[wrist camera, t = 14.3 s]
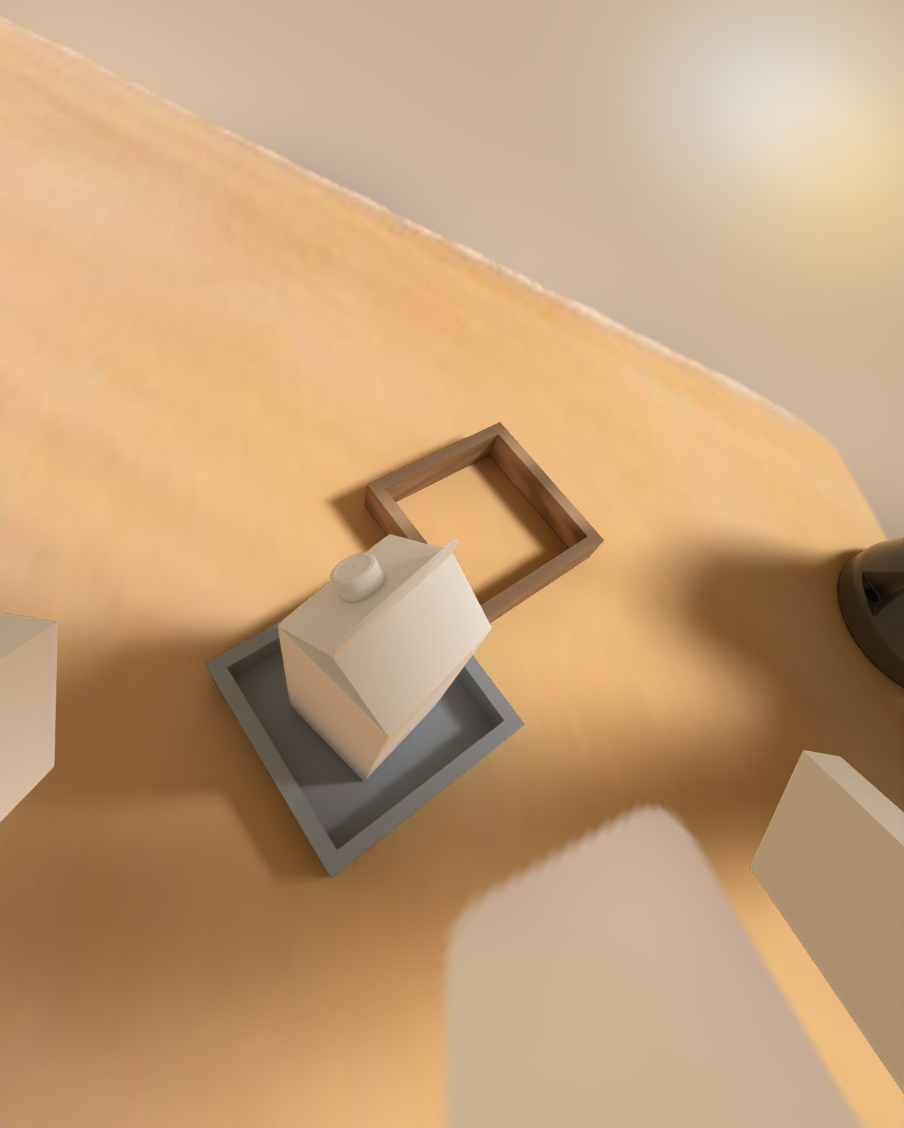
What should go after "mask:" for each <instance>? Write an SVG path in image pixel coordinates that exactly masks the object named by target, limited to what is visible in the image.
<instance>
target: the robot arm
mask: <svg viewBox="0 0 904 1128" xmlns="http://www.w3.org/2000/svg"><path fill="white" fill-rule="evenodd" d="M838 593H839V601H840V606H841V610H842V613H843V616H844V618H845V621H846V623H847V625H848V627H849V629H850V631H851V633H852V635H853V636H854V638H855V640H856V641H857V643H858V644H859V646H860V647H861V648H862V650H863V651H864V652H865V653H866V655H867V656H868V657H869V658H870V659H871V660H872V661H873V662H874V664H875V665H876V666H878V667H879V668H880V669H881V670H882V671H883V672H884V673H885V674H886V675H888V676H889V677H890V678H891V679H893V680H894V681H896V682H897V683H899V684H900V685H902V686H903V687H904V537H903V538H898V539H893V540H888V541H884V542H881V543H878V544H875V545H873V546H871V547H869V548H867V549H866V550H864V551H862V552H860V553H859V554H857V555H855V556H854V557H852V558H851V559H850V560H849V561H848V562H847V563H846V564H845V566H844V567H843V569H842V572H841V574H840V578H839V585H838ZM57 644H58V622H55V621H49V620H44V619H38V618H32V617H26V616H20V615H14V614H9V613H7V614H5V615H3V616H1V617H0V822H1V821H2V820H3V819H4V818H5V817H6V816H7V815H8V814H9V813H10V812H11V811H12V810H13V809H14V808H15V806H16V805H17V804H18V803H19V802H20V801H21V800H22V799H23V798H24V797H25V796H26V795H27V794H28V793H29V792H30V791H31V790H32V789H33V788H34V787H35V786H36V785H37V784H38V783H39V782H40V781H41V780H42V779H43V778H44V777H45V775H46V774H47V773H48V772H49V771H50V770H51V769H52V768H53V767H54V760H55V721H56V683H57ZM750 869H751V870H752V872H753V873H754V875H755V876H756V878H757V879H758V881H759V882H760V884H761V885H762V887H763V888H764V889H765V891H766V892H767V894H768V895H769V897H770V898H771V900H772V901H773V903H774V904H775V906H776V907H777V909H778V910H779V911H780V913H781V914H782V916H783V917H784V919H785V920H786V922H787V923H788V925H789V926H790V928H791V929H792V931H793V932H794V934H795V935H796V936H797V938H798V939H799V941H800V942H801V944H802V945H803V947H804V948H805V950H806V951H807V953H808V954H809V956H810V957H811V958H812V960H813V961H814V963H815V964H816V966H817V967H818V969H819V970H820V972H821V973H822V975H823V976H824V978H825V979H826V981H827V982H828V983H829V985H830V986H831V988H832V989H833V991H834V992H835V994H836V995H837V997H838V998H839V1000H840V1001H841V1003H842V1004H843V1006H844V1007H845V1008H846V1010H847V1011H848V1013H849V1014H850V1016H851V1017H852V1019H853V1020H854V1022H855V1023H856V1025H857V1026H858V1028H859V1029H860V1030H861V1032H862V1033H863V1035H864V1036H865V1038H866V1039H867V1041H868V1042H869V1044H870V1045H871V1047H872V1048H873V1050H874V1051H875V1053H876V1054H877V1055H878V1057H879V1058H880V1060H881V1061H882V1063H883V1064H884V1066H885V1067H886V1069H887V1070H888V1072H889V1073H890V1075H891V1076H892V1077H893V1079H894V1080H895V1082H896V1083H897V1085H898V1086H899V1088H900V1089H901V1091H902V1092H903V1094H904V812H903V811H901V810H900V809H899V808H898V807H897V806H896V805H895V804H894V803H892V802H891V801H890V800H889V799H888V798H887V797H886V796H885V795H883V794H882V793H881V792H880V791H879V790H878V789H877V788H875V787H874V786H873V785H872V784H871V783H870V782H869V781H868V780H866V779H865V778H864V777H863V776H862V775H861V774H860V773H859V772H857V771H856V770H855V769H854V768H853V767H852V766H851V765H849V764H848V763H847V762H846V761H845V760H844V759H843V758H842V757H840V756H835V755H829V754H823V753H818V752H812V751H806V750H803V751H802V754H801V756H800V758H799V760H798V762H797V765H796V767H795V769H794V771H793V773H792V775H791V778H790V780H789V782H788V784H787V786H786V789H785V791H784V793H783V795H782V797H781V799H780V802H779V804H778V806H777V808H776V810H775V812H774V815H773V817H772V819H771V821H770V823H769V826H768V828H767V830H766V832H765V834H764V836H763V839H762V841H761V843H760V845H759V847H758V850H757V852H756V854H755V856H754V858H753V860H752V863H751V865H750Z"/></svg>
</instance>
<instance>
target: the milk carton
mask: <svg viewBox="0 0 904 1128" xmlns="http://www.w3.org/2000/svg"><path fill="white" fill-rule="evenodd" d="M457 542H458V541H457V540H456V539H453V540H452V541H451V542H449V543H448V544H447V545H446V546H445V547H444V548H440V547H436V546H433V545H429V544H425V543H421V542H418V541H414V540H410V539H406V538H403V537H399V536H395V535H391V534H390V535H388V536H386V537H385V538H383V539H382V540H381V541H379V542H378V543H377V544H376V545H374V546H373V547H372V548H370V549H369V550H368V551H367V552H366V553H358V554H354V555H352V556H350V557H347V558H346V559H344V560H343V561H341V562H340V563H339V564H338V565H336V567H335V568H334V569H333V570H332V572H331V574H330V579H331V581H330V582H329V583H327V584H326V585H325V586H324V587H323V588H321V589H320V590H319V591H318V592H316V593H315V594H314V595H313V596H311V597H310V598H309V599H308V600H307V601H305V602H304V603H303V604H302V605H300V606H299V607H298V608H297V609H296V610H294V611H293V612H292V613H291V614H290V615H288V616H287V617H286V618H285V619H284V620H283V621H282V622H280V623H279V625H278V632H279V638H280V645H281V651H282V657H283V664H284V670H285V676H286V682H287V689H288V695H289V701H290V706H291V707H292V708H293V709H294V710H295V711H296V712H297V713H298V714H299V715H300V716H301V717H302V718H303V720H304V721H305V722H306V723H307V724H308V725H309V726H310V727H311V728H312V729H313V730H314V731H315V732H316V733H317V734H318V735H319V736H320V737H321V738H322V739H323V740H324V741H325V742H326V743H327V744H328V745H329V746H330V747H331V748H332V749H333V750H334V751H335V752H336V753H337V755H338V756H339V757H340V758H341V759H342V760H343V761H344V762H345V763H346V764H347V765H348V766H349V767H350V768H351V769H352V770H353V771H354V772H355V773H356V774H357V775H358V776H359V777H360V778H361V779H362V780H363V781H365V780H366V779H367V778H368V777H369V776H370V775H371V774H372V773H373V772H374V771H375V770H376V769H377V768H378V767H379V766H380V765H381V764H382V763H383V761H384V760H385V759H386V758H387V757H388V756H389V755H390V754H391V753H392V752H393V751H394V750H395V749H396V748H397V746H398V745H399V744H400V743H401V742H402V741H403V740H404V739H405V738H406V737H407V736H408V735H409V734H410V732H411V731H412V730H413V729H414V728H415V727H416V726H417V725H418V724H419V723H420V722H421V721H422V720H423V719H424V717H425V716H426V715H427V714H428V713H429V712H430V711H431V710H432V709H433V708H434V706H435V705H436V704H437V702H438V701H439V700H440V698H441V697H442V696H443V694H444V693H445V692H446V690H447V689H448V687H449V686H450V685H451V683H452V682H453V681H454V679H455V678H456V677H457V675H458V674H459V673H460V671H461V670H462V668H463V667H464V666H465V664H466V663H467V662H468V660H469V659H470V658H471V656H472V655H473V654H474V652H475V651H476V649H477V648H478V647H479V645H480V644H481V643H482V641H483V640H484V639H485V637H486V636H487V635H488V633H489V632H490V630H491V629H492V627H491V625H490V623H489V621H488V619H487V617H486V616H485V614H484V612H483V610H482V608H481V606H480V604H479V602H478V600H477V598H476V596H475V594H474V592H473V591H472V589H471V587H470V585H469V583H468V581H467V579H466V577H465V575H464V573H463V571H462V569H461V567H460V566H459V564H458V562H457V560H456V558H455V556H454V554H453V551H454V549H455V547H456V544H457Z"/></svg>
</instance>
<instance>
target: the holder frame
mask: <svg viewBox="0 0 904 1128" xmlns="http://www.w3.org/2000/svg"><path fill="white" fill-rule="evenodd" d="M489 455H490V456H491V458H492V459H493V460H494V461H495V462H496V463H497V465H498V466H499V467H500V468H501V469H502V470H503V472H504V473H505V474H506V475H507V476H508V477H509V479H510V480H511V481H512V482H513V483H514V484H515V486H516V487H517V488H518V489H519V490H520V491H521V493H522V494H523V495H524V496H525V497H526V499H527V500H528V501H529V502H530V503H531V504H532V506H533V507H534V508H535V509H536V510H537V511H538V513H539V514H540V515H541V516H542V517H543V518H544V520H545V521H546V522H547V523H548V524H549V525H550V527H551V528H552V529H553V530H554V531H555V532H556V534H557V535H558V536H559V537H560V538H561V539H562V541H563V542H564V543H565V544H566V545H567V547H568V548H569V549H568V550H566V551H564V552H563V553H561V554H560V555H558V556H557V557H555V558H554V559H552V560H550V561H549V562H547V563H546V564H544V565H543V566H541V567H540V568H538V569H536V570H535V571H533V572H532V573H530V574H529V575H527V576H526V577H524V578H522V579H521V580H519V581H518V582H516V583H515V584H513V585H512V586H510V587H508V588H507V589H505V590H504V591H502V592H501V593H499V594H498V595H496V596H494V597H493V598H491V599H490V600H488V601H487V602H485V603H484V604H482V605H480V606H481V608H482V610H483V612H484V614H485V616H486V617H487V619H488V621H489V623H491V622H493V621H494V620H496V619H497V618H499V617H500V616H502V615H503V614H505V613H506V612H508V611H509V610H511V609H512V608H514V607H515V606H517V605H518V604H520V603H521V602H523V601H524V600H526V599H527V598H529V597H530V596H532V595H533V594H535V593H536V592H538V591H539V590H541V589H542V588H544V587H545V586H547V585H548V584H550V583H551V582H553V581H554V580H556V579H557V578H559V577H560V576H562V575H563V574H565V573H566V572H568V571H569V570H571V569H572V568H574V567H575V566H577V565H578V564H580V563H581V562H583V561H584V560H586V559H587V558H589V557H590V555H591V554H592V553H593V552H594V551H595V550H596V549H597V548H598V546H599V545H600V544H601V543H602V542H603V541H604V540H603V539H602V537H601V536H600V535H599V534H598V533H597V532H596V531H595V529H594V528H593V527H592V526H591V525H590V524H589V523H588V521H587V520H586V519H585V518H584V517H583V516H582V515H581V514H580V512H579V511H578V510H577V509H576V508H575V507H574V506H573V504H572V503H571V502H570V501H569V500H568V499H567V498H566V496H565V495H564V494H563V493H562V492H561V491H560V490H559V489H558V487H557V486H556V485H555V484H554V483H553V482H552V481H551V479H550V478H549V477H548V476H547V475H546V474H545V473H544V471H543V470H542V469H541V468H540V467H539V466H538V465H537V464H536V462H535V461H534V460H533V459H532V458H531V457H530V456H529V454H528V453H527V452H526V451H525V450H524V449H523V448H522V446H521V445H520V444H519V443H518V442H517V441H516V440H515V439H514V437H513V436H512V435H511V434H510V433H509V432H508V431H507V429H506V428H505V427H504V426H503V425H502V424H501V423H500V422H499V423H497V424H495V425H493V426H491V427H488V428H486V429H484V430H482V431H480V432H478V433H476V434H474V435H472V436H469V437H467V438H465V439H463V440H461V441H459V442H457V443H455V444H452V445H450V446H448V447H446V448H444V449H442V450H440V451H438V452H435V453H433V454H431V455H429V456H427V457H425V458H423V459H421V460H419V461H416V462H414V463H412V464H410V465H408V466H406V467H404V468H402V469H399V470H397V471H395V472H393V473H391V474H389V475H387V476H385V477H382V478H380V479H378V480H376V481H374V482H372V483H370V484H368V485H367V492H366V499H365V507H366V508H367V509H368V511H369V512H370V513H371V515H372V516H373V517H374V519H375V520H376V521H377V523H378V524H379V525H380V527H381V528H382V529H383V531H384V532H385V533H386V535H387V536H388V535H390V534H391V535H395V536H399V537H403V538H406V539H410V540H414V541H418V542H421V543H425V544H427V542H426V541H425V540H424V539H423V537H422V536H421V535H420V533H419V532H418V531H417V529H416V528H415V527H414V526H413V524H412V523H411V522H410V520H409V519H408V518H407V516H406V515H405V514H404V513H403V511H402V510H401V509H400V507H399V506H398V505H397V504H396V502H397V501H399V500H401V499H403V498H405V497H407V496H409V495H411V494H413V493H415V492H417V491H419V490H421V489H423V488H425V487H427V486H429V485H431V484H433V483H435V482H437V481H439V480H441V479H443V478H445V477H447V476H449V475H451V474H453V473H455V472H457V471H459V470H461V469H463V468H465V467H467V466H469V465H471V464H473V463H475V462H477V461H479V460H481V459H483V458H485V457H487V456H489Z"/></svg>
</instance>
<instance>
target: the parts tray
mask: <svg viewBox="0 0 904 1128" xmlns="http://www.w3.org/2000/svg"><path fill="white" fill-rule="evenodd" d="M283 620H284V619H283ZM283 620H281V621H280V622H282V621H283ZM280 622H278V623H276V624H274V625H272V626H270V627H269V628H267V629H265V630H263V631H261V632H260V633H258V634H256V635H254V636H252V637H250V638H249V639H247V640H245V641H243V642H241V643H240V644H238V645H236V646H234V647H232V648H231V649H229V650H227V651H225V652H223V653H221V654H220V655H218V656H216V657H214V658H212V659H211V660H209V661H207V662H205V663H204V664H205V665H206V667H207V669H208V671H209V673H210V674H211V676H212V678H213V680H214V681H215V683H216V685H217V686H218V688H219V690H220V692H221V693H222V695H223V697H224V698H225V700H226V702H227V703H228V705H229V707H230V709H231V710H232V712H233V714H234V715H235V717H236V719H237V720H238V722H239V724H240V725H241V727H242V729H243V731H244V732H245V734H246V736H247V737H248V739H249V741H250V742H251V744H252V746H253V747H254V749H255V751H256V753H257V754H258V756H259V758H260V759H261V761H262V763H263V764H264V766H265V768H266V769H267V771H268V773H269V775H270V776H271V778H272V780H273V781H274V783H275V785H276V786H277V788H278V790H279V792H280V793H281V795H282V797H283V798H284V800H285V802H286V803H287V805H288V807H289V808H290V810H291V812H292V814H293V815H294V817H295V819H296V820H297V822H298V824H299V825H300V827H301V829H302V830H303V832H304V834H305V836H306V837H307V839H308V841H309V842H310V844H311V846H312V847H313V849H314V851H315V853H316V854H317V856H318V858H319V859H320V861H321V863H322V864H323V866H324V868H325V869H326V871H327V873H328V875H329V876H330V878H332V877H333V876H335V875H336V874H337V873H338V872H340V871H341V870H342V869H343V868H345V867H346V866H347V865H348V864H350V863H351V862H352V861H353V860H355V859H356V858H357V857H358V856H360V855H361V854H362V853H363V852H365V851H366V850H367V849H369V848H370V847H371V846H372V845H374V844H375V843H376V842H377V841H379V840H380V839H381V838H382V837H384V836H385V835H386V834H387V833H389V832H390V831H391V830H392V829H394V828H395V827H396V826H397V825H399V824H400V823H401V822H402V821H404V820H405V819H406V818H407V817H409V816H410V815H411V814H413V813H414V812H415V811H416V810H418V809H419V808H420V807H421V806H423V805H424V804H425V803H426V802H428V801H429V800H430V799H431V798H433V797H434V796H435V795H436V794H438V793H439V792H440V791H441V790H443V789H444V788H445V787H446V786H448V785H449V784H450V783H452V782H453V781H454V780H455V779H457V778H458V777H459V776H460V775H462V774H463V773H464V772H465V771H467V770H468V769H469V768H470V767H472V766H473V765H474V764H475V763H477V762H478V761H479V760H480V759H482V758H483V757H484V756H485V755H487V754H488V753H489V752H490V751H492V750H493V749H494V748H496V747H497V746H498V745H499V744H501V743H502V742H503V741H504V740H506V739H507V738H508V737H509V736H511V735H512V734H513V733H514V732H516V731H517V730H518V729H519V728H521V727H522V726H523V725H524V723H523V722H522V720H521V719H520V718H519V716H518V715H517V714H516V712H515V711H514V710H513V708H512V707H511V706H510V704H509V703H508V702H507V700H506V699H505V698H504V696H503V695H502V694H501V692H500V691H499V690H498V688H497V687H496V686H495V684H494V683H493V682H492V680H491V679H490V678H489V676H488V675H487V674H486V672H485V671H484V670H483V668H482V667H481V666H480V664H479V663H478V662H477V660H476V659H475V657H474V656H473V655H472V656H471V658H470V659H469V660H468V662H467V663H466V664H465V666H464V667H463V668H462V670H461V671H460V673H459V674H458V675H457V677H456V678H455V679H454V681H453V682H452V683H451V685H450V686H449V687H448V689H447V690H446V692H445V693H444V694H443V696H442V697H441V698H440V700H439V701H438V702H437V704H436V705H435V706H434V708H433V709H432V710H431V711H430V712H429V713H428V714H427V715H426V716H425V717H424V719H423V720H422V721H421V722H420V723H419V724H418V725H417V726H416V727H415V728H414V729H413V730H412V731H411V732H410V734H409V735H408V736H407V737H406V738H405V739H404V740H403V741H402V742H401V743H400V744H399V745H398V746H397V748H396V749H395V750H394V751H393V752H392V753H391V754H390V755H389V756H388V757H387V758H386V759H385V760H384V761H383V763H382V764H381V765H380V766H379V767H378V768H377V769H376V770H375V771H374V772H373V773H372V774H371V775H370V776H369V777H368V778H367V779H366V780H365V781H363V780H362V779H361V778H360V777H359V776H358V775H357V774H356V773H355V772H354V771H353V770H352V769H351V768H350V767H349V766H348V765H347V764H346V763H345V762H344V761H343V760H342V759H341V758H340V757H339V756H338V755H337V753H336V752H335V751H334V750H333V749H332V748H331V747H330V746H329V745H328V744H327V743H326V742H325V741H324V740H323V739H322V738H321V737H320V736H319V735H318V734H317V733H316V732H315V731H314V730H313V729H312V728H311V727H310V726H309V725H308V724H307V723H306V722H305V721H304V720H303V718H302V717H301V716H300V715H299V714H298V713H297V712H296V711H295V710H294V709H293V708H292V707H291V706H290V701H289V695H288V689H287V682H286V676H285V670H284V664H283V657H282V651H281V645H280V638H279V632H278V625H279V623H280Z"/></svg>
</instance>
